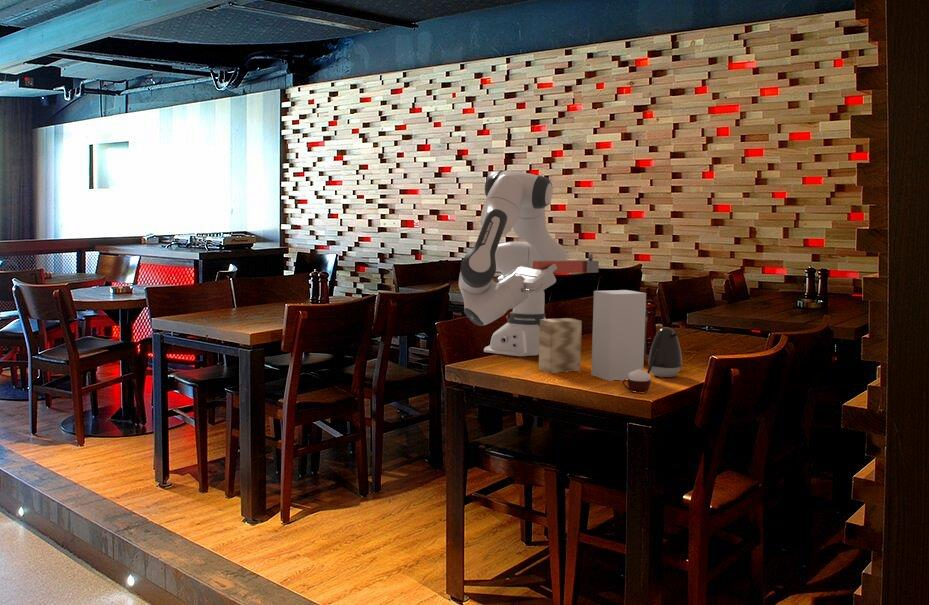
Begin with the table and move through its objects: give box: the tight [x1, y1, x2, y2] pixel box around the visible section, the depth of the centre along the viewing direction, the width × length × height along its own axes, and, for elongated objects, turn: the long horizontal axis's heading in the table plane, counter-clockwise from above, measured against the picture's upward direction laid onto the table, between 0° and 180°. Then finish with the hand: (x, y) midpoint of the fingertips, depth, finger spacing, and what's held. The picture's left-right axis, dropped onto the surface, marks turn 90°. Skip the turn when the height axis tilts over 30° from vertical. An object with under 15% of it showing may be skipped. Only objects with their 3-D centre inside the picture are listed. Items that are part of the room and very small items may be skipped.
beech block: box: [538, 317, 583, 374], centre depth 271 cm, size 11×7×16 cm, turn 113°
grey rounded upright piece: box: [647, 326, 683, 378], centre depth 264 cm, size 10×10×15 cm
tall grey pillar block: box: [590, 289, 647, 382], centre depth 261 cm, size 12×10×26 cm
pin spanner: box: [533, 253, 600, 274], centre depth 259 cm, size 20×6×6 cm, turn 113°
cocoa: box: [622, 349, 658, 393], centre depth 241 cm, size 10×6×12 cm, turn 65°
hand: (551, 265), depth 257 cm, fingers closed on pin spanner, 3 cm apart
